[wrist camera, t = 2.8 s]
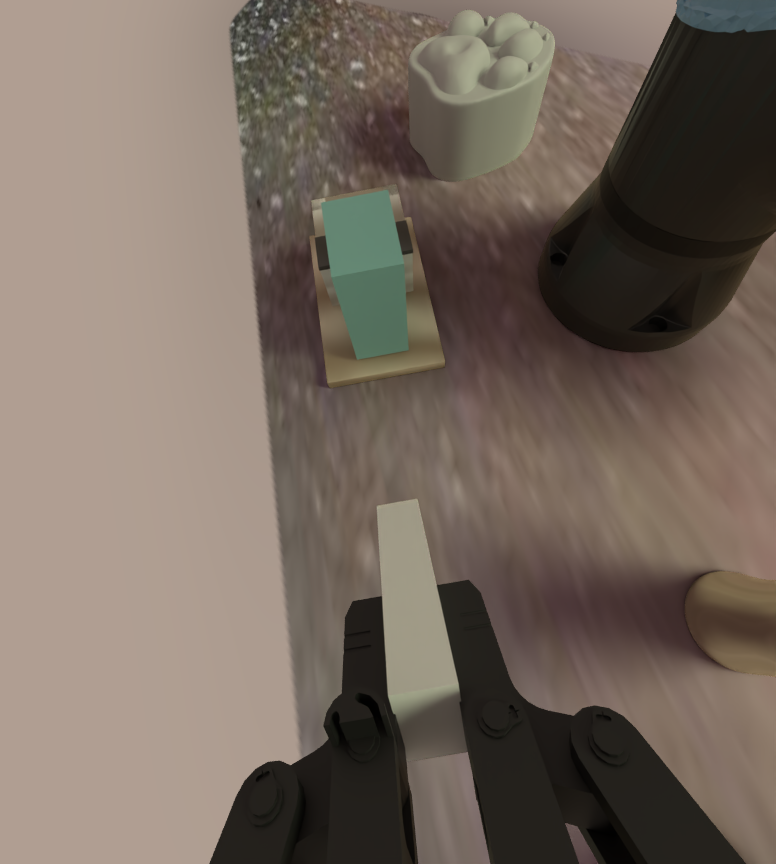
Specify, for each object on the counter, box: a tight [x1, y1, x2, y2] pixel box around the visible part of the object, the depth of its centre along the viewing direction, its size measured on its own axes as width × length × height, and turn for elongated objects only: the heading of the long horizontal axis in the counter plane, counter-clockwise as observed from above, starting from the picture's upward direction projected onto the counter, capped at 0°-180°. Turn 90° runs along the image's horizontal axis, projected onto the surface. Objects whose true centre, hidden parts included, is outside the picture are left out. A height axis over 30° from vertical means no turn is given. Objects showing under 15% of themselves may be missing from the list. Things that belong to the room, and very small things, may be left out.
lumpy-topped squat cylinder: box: [408, 10, 555, 182], centre depth 37 cm, size 10×13×9 cm
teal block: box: [321, 190, 409, 360], centre depth 29 cm, size 6×4×10 cm
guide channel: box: [309, 184, 445, 388], centre depth 33 cm, size 16×10×6 cm, turn 9°
